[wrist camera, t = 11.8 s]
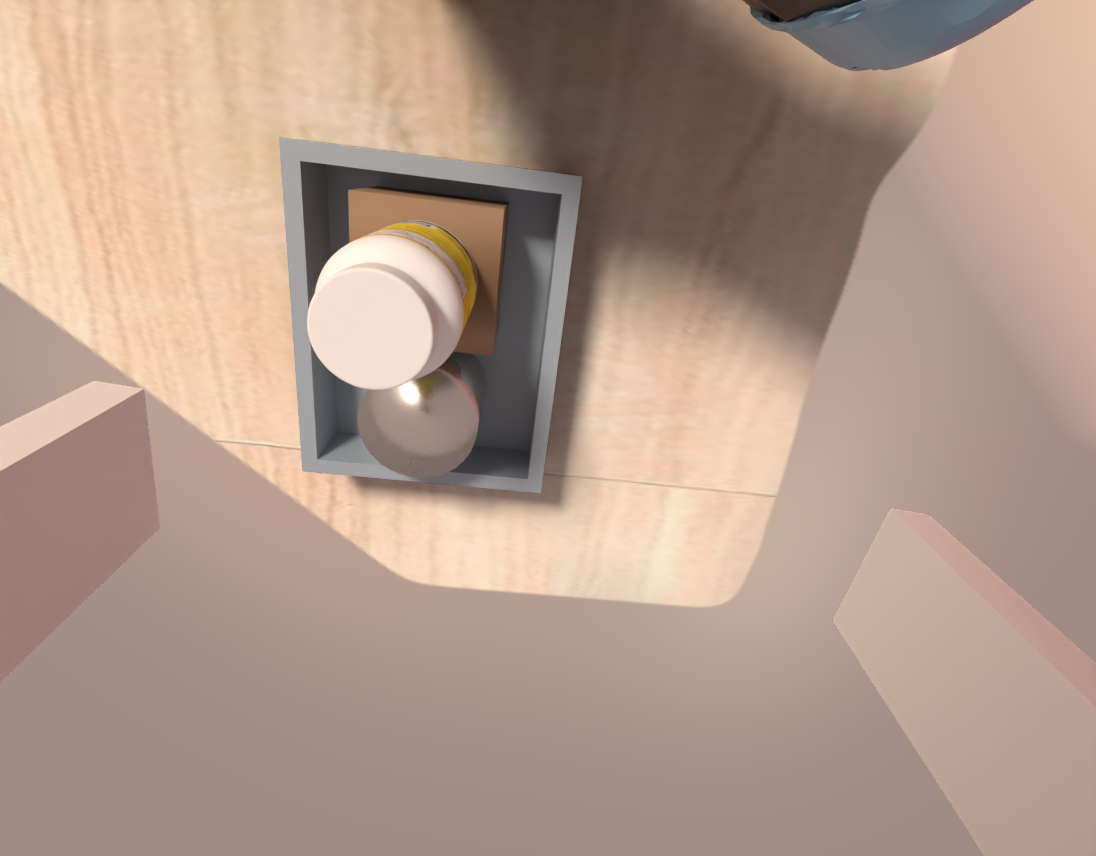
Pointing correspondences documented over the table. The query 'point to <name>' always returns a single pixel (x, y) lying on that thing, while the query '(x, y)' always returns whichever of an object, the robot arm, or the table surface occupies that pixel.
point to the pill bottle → (392, 304)
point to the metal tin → (426, 419)
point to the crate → (511, 372)
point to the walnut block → (463, 217)
